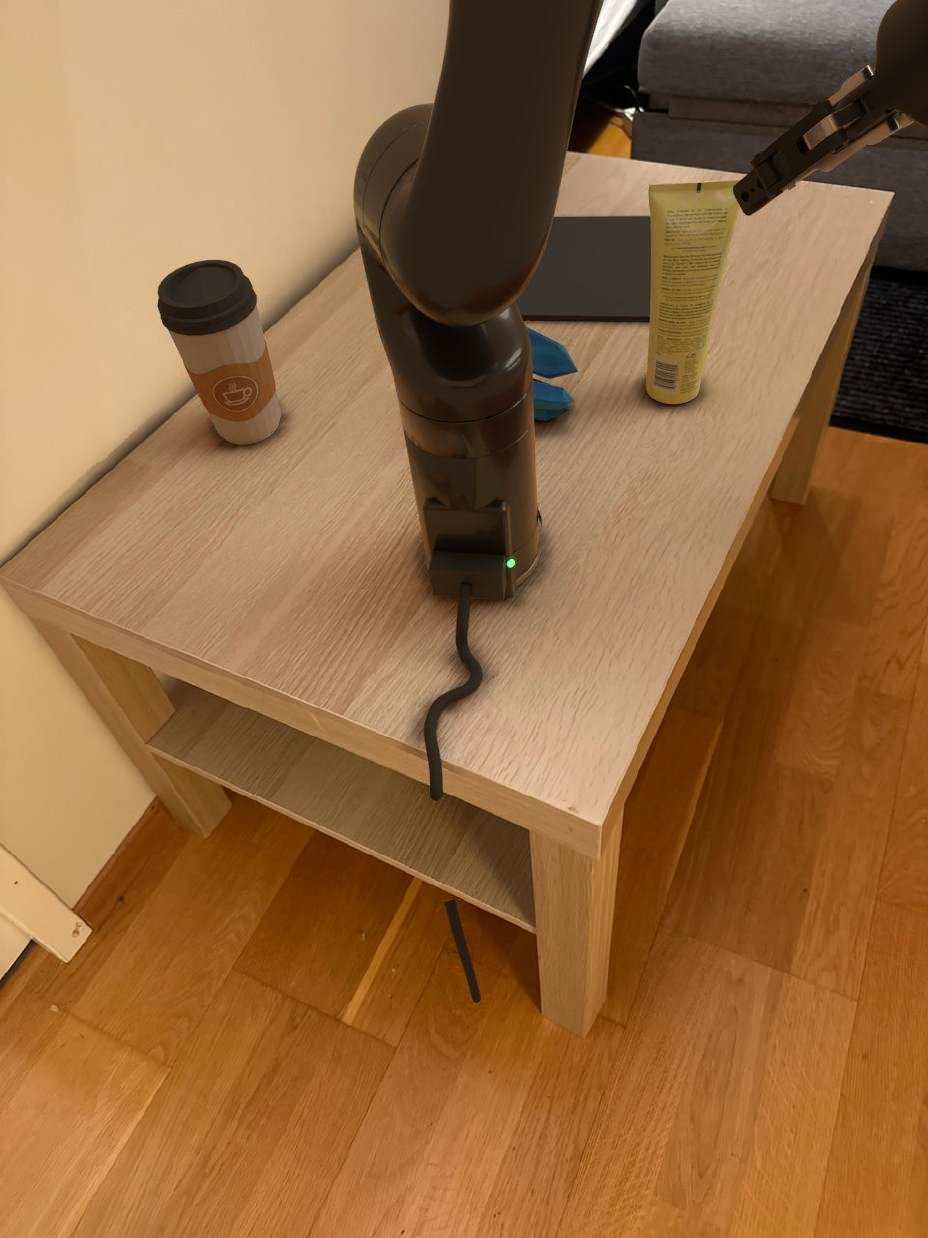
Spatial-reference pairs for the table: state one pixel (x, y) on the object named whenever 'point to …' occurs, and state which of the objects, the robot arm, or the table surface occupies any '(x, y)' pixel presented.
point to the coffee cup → (222, 347)
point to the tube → (685, 280)
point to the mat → (592, 271)
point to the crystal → (549, 376)
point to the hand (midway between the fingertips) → (785, 176)
